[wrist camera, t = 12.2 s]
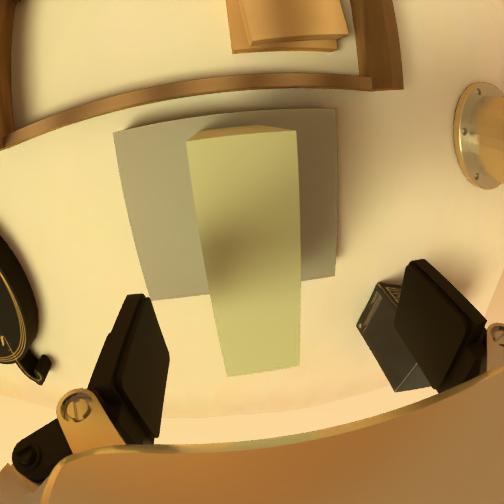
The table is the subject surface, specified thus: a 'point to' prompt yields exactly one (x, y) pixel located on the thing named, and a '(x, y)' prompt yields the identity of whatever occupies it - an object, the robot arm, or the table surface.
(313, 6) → the upper offcut
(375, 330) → the small box
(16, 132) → the frame
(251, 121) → the grey board
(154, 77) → the table surface
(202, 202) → the pale green block
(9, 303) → the decorative sign
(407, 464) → the robot arm
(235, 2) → the block
